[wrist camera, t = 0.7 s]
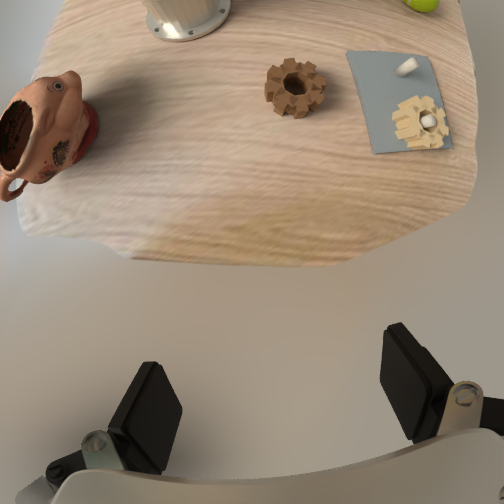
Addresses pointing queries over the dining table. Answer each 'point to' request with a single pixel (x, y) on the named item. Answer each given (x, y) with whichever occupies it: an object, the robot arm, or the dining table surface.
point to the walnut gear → (301, 77)
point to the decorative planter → (44, 131)
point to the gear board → (400, 101)
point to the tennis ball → (422, 5)
